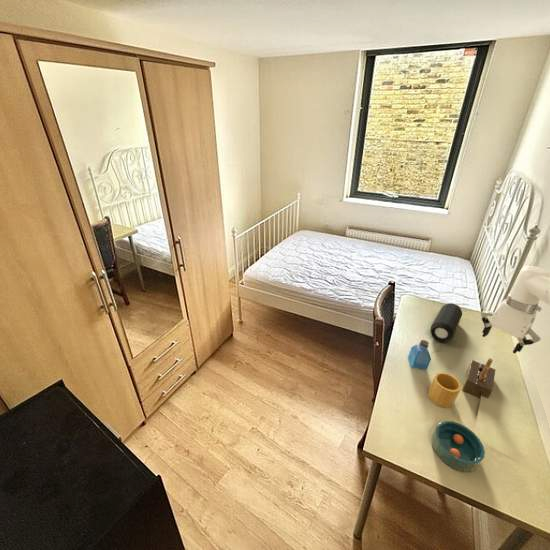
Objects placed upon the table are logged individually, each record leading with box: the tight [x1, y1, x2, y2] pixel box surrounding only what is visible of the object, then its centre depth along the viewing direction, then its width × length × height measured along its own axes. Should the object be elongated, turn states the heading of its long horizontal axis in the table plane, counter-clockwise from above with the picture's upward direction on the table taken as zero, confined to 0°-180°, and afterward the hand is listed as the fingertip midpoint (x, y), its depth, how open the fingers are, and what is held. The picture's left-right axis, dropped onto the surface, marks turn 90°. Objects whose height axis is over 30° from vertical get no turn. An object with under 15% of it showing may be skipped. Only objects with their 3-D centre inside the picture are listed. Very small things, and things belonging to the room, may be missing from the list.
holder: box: [461, 359, 497, 400], centre depth 116 cm, size 8×13×6 cm, turn 142°
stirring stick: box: [478, 357, 493, 381], centre depth 112 cm, size 1×1×16 cm
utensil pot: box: [427, 371, 463, 409], centre depth 109 cm, size 9×9×9 cm
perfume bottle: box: [407, 339, 432, 370], centre depth 124 cm, size 6×6×12 cm
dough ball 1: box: [453, 434, 464, 445], centre depth 95 cm, size 3×3×3 cm
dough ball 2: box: [449, 448, 460, 458], centre depth 91 cm, size 3×3×3 cm
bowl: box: [431, 420, 486, 473], centre depth 93 cm, size 14×14×5 cm
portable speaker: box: [429, 302, 463, 343], centre depth 145 cm, size 26×10×10 cm, turn 141°
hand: (499, 343), depth 102 cm, fingers open, 9 cm apart
